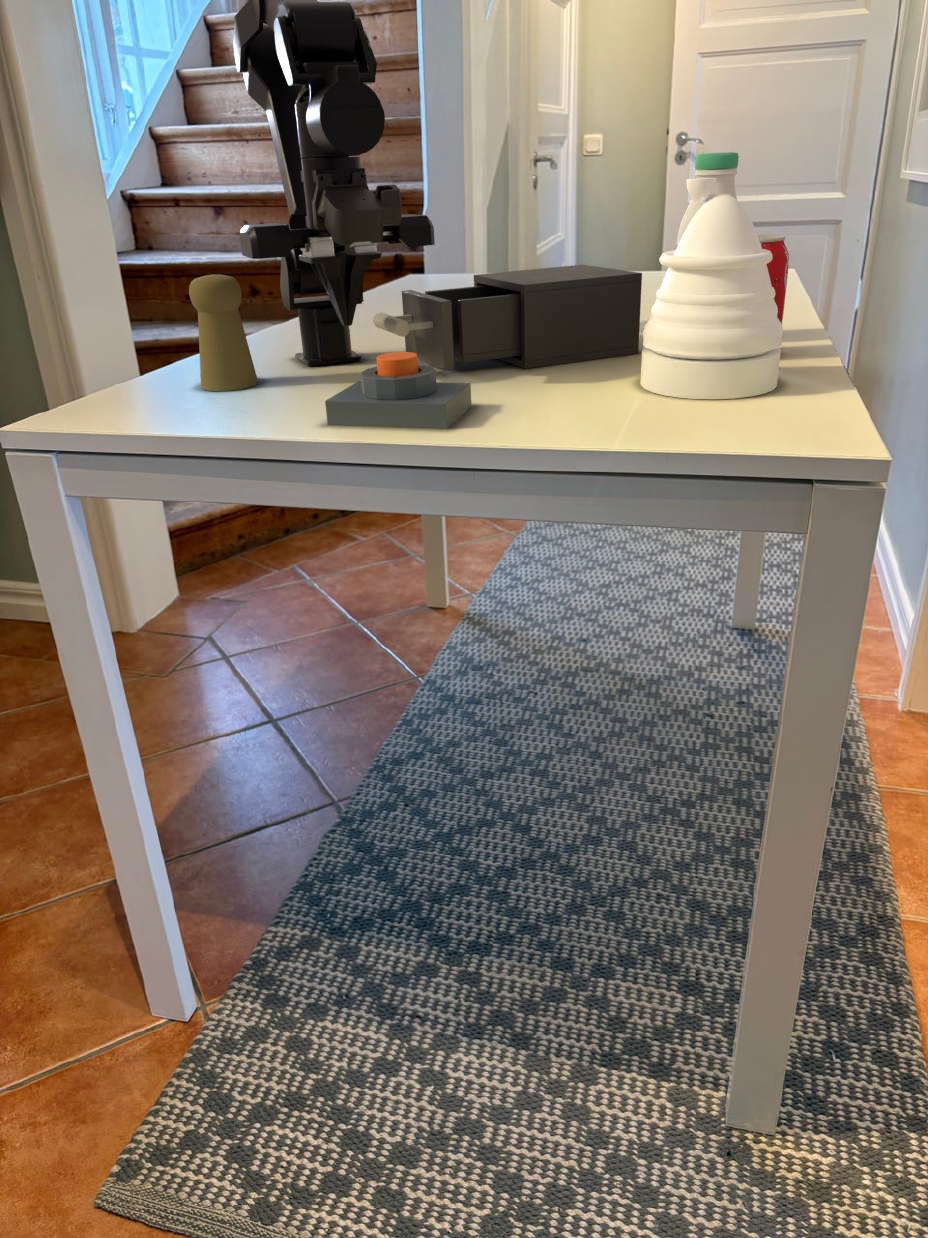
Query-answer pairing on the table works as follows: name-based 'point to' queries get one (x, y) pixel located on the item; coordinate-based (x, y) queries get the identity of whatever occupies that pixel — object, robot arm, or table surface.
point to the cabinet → (573, 313)
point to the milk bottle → (714, 168)
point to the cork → (221, 334)
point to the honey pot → (713, 308)
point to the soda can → (777, 268)
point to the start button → (397, 364)
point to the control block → (399, 401)
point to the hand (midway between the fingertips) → (346, 325)
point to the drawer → (458, 324)
